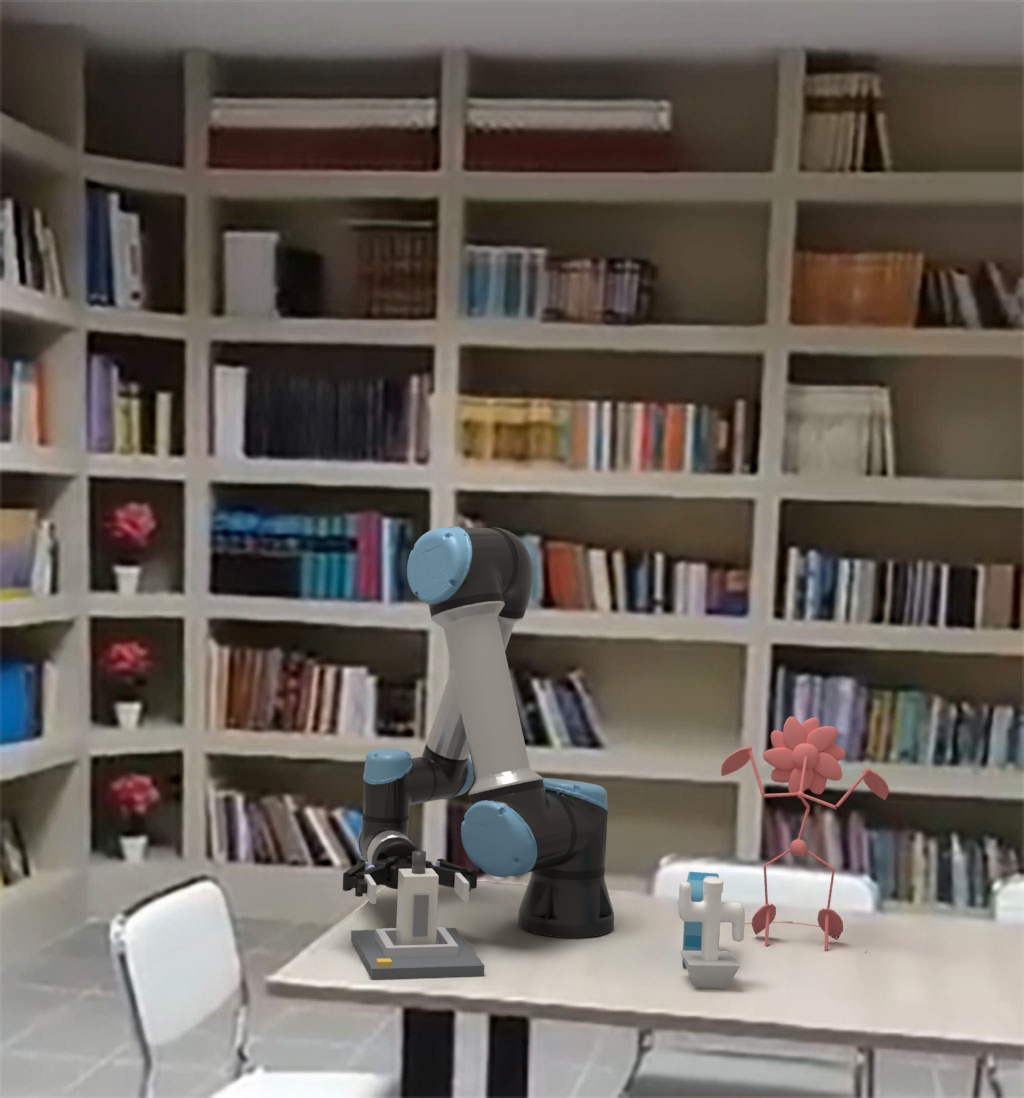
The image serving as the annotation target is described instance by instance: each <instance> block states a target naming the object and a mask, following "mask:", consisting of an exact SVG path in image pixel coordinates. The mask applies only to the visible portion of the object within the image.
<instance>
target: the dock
mask: <svg viewBox="0 0 1024 1098" xmlns="http://www.w3.org/2000/svg"><path fill="white" fill-rule="evenodd" d="M350 934H351V935H350V941H351V943H352V945H353V947H354V949H355V951H356V952H357V955H358V956H359V958H360V960H361V963H363V966H364V968H365V969H366V971H367V973H368V976H369V977H370V979H371V980H375V981H376V980H402V979H430V978H431V979H435V978H437V979H439V978H458V977H459V978H463V977H485V964H484V963H483V961H481V959H480V958H479V956H478V955H477V954H476V953H475V951H474V950H473V949H472V947H471V946H470V945H469V943H468V942H467V940H466V939H465V938H464V937H463V935H462V934H461V933H460V931H458V929H457V928H456V927H445V926H437V932H436V944H432V945H397V944H396V927H394V928H393V927H389V928H387V927H386V928H385V927H384V928H374V929H364V930H363V929H361V930H359V929H358V930H351V933H350Z"/></svg>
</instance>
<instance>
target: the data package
mask: <svg viewBox="0 0 1024 1098" xmlns="http://www.w3.org/2000/svg"><path fill="white" fill-rule="evenodd" d="M707 876H714V877H718V879H720V878H719V876H720V875H719V874H718V873H715V872H714V873H713V872H700V871H699V872H698V871H689V872H688V875H687V880H686V882H689V883H690V885H691V901H692V902H701V901H703V880H704V879H705V877H707ZM682 937H683V940H682V950H685V951H701V941H702V922H687V921H683V936H682ZM681 965H682V966H683V967H685V968H686V965H685V963H684V960H683V958H682V964H681Z"/></svg>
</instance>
